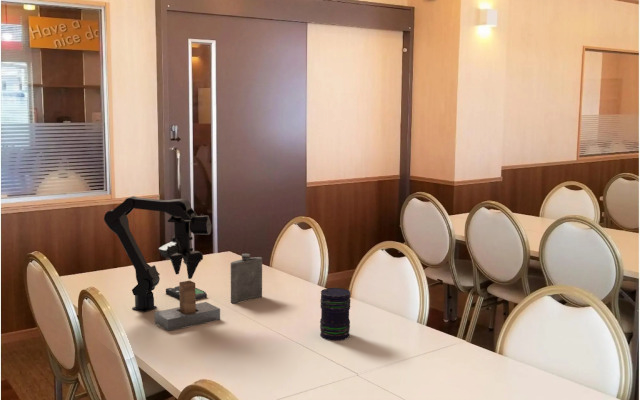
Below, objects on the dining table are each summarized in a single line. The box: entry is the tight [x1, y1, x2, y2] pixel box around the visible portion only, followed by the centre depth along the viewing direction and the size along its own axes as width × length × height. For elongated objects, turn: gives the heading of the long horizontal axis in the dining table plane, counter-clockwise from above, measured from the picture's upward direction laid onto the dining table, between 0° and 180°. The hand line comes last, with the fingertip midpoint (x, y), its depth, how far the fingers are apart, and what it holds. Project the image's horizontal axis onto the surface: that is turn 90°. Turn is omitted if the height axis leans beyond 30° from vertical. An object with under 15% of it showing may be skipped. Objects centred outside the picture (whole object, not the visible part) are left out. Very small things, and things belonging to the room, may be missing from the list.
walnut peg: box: [178, 279, 197, 314], centre depth 234 cm, size 4×4×14 cm
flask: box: [230, 253, 263, 305], centre depth 261 cm, size 4×14×18 cm, turn 133°
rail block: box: [154, 301, 221, 332], centre depth 235 cm, size 10×20×4 cm, turn 129°
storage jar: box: [319, 287, 351, 342], centre depth 222 cm, size 10×10×15 cm
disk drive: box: [165, 285, 208, 301], centre depth 266 cm, size 10×3×15 cm
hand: (183, 276), depth 245 cm, fingers open, 9 cm apart
